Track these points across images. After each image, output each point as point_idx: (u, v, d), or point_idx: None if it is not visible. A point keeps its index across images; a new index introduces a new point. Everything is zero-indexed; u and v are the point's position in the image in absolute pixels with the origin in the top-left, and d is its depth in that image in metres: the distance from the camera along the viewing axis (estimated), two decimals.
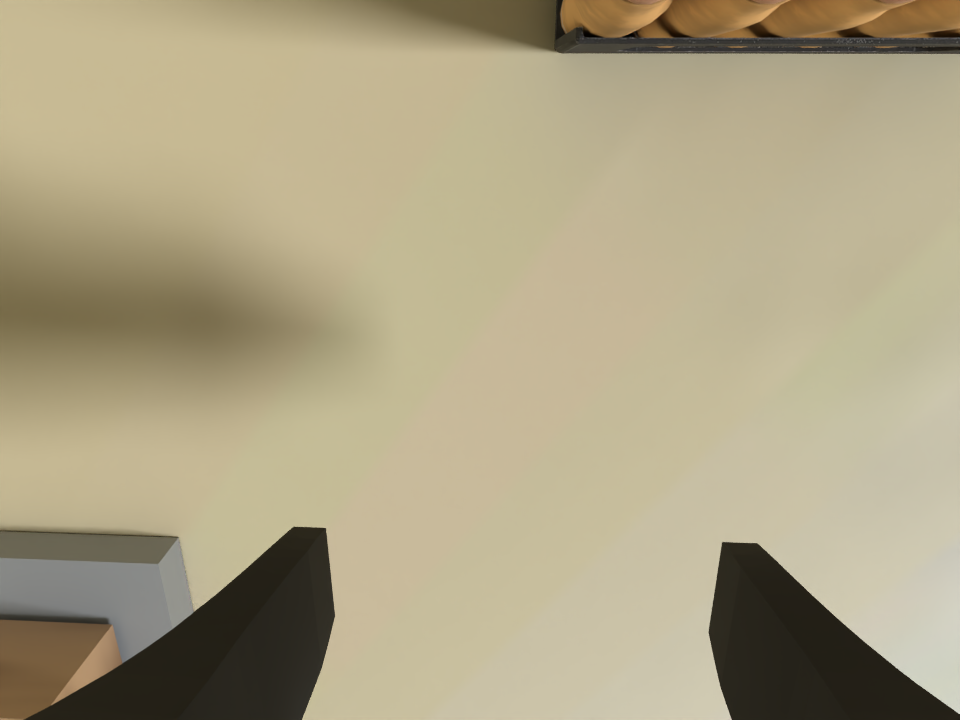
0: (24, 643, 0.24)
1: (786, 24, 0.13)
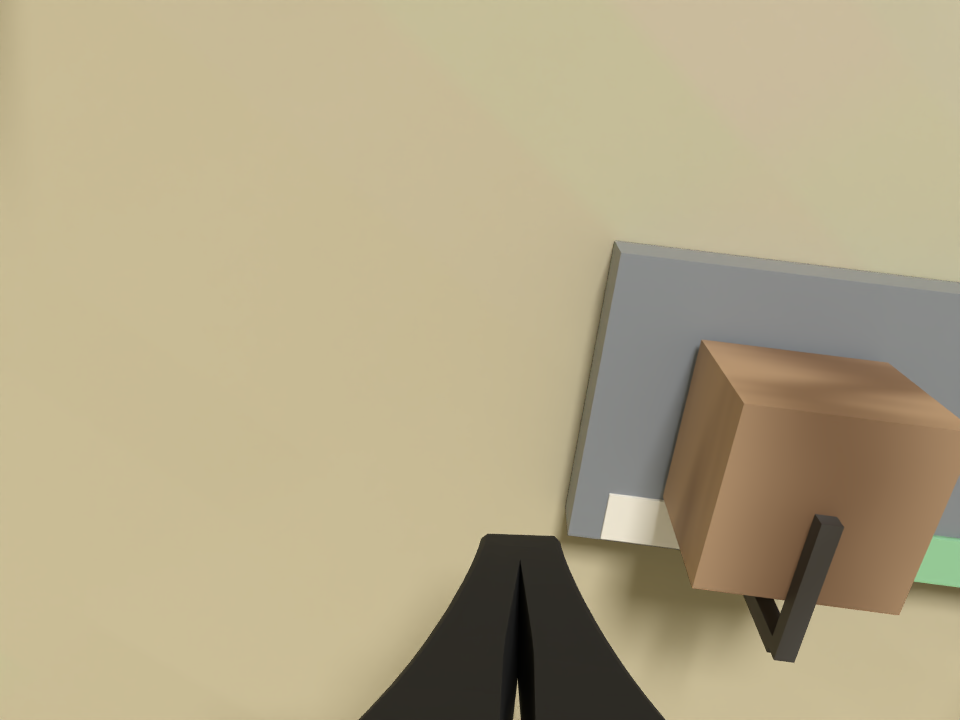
0: (688, 441, 0.19)
1: None
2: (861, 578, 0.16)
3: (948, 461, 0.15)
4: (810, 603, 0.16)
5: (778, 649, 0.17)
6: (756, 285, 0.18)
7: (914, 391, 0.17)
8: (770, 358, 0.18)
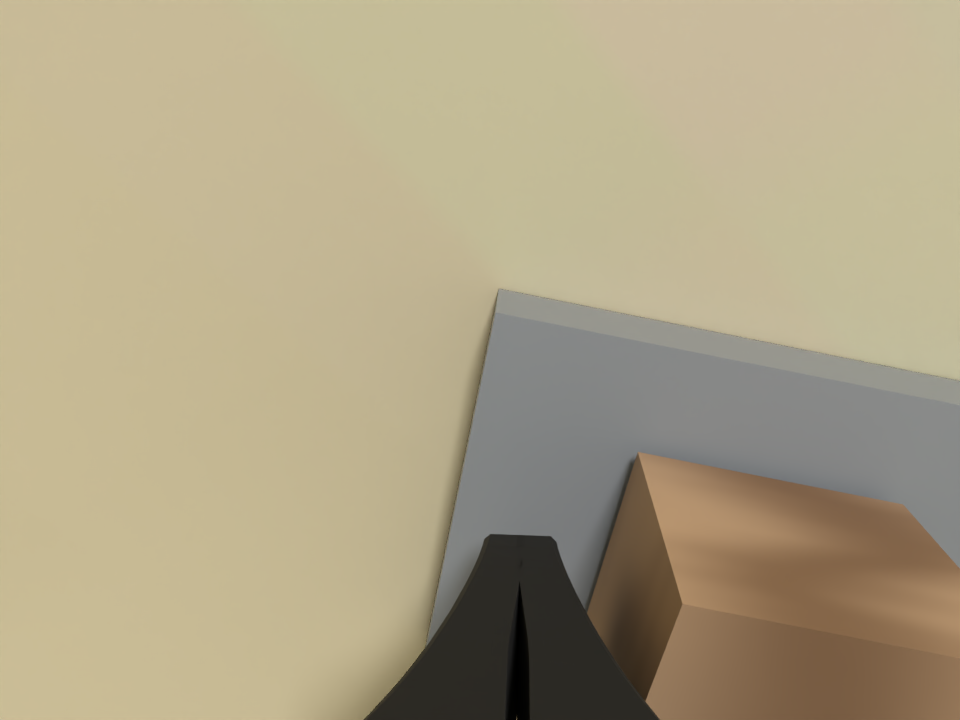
0: (608, 599, 0.13)
1: None
2: None
3: None
4: None
5: None
6: (691, 374, 0.12)
7: (946, 570, 0.11)
8: (735, 492, 0.12)
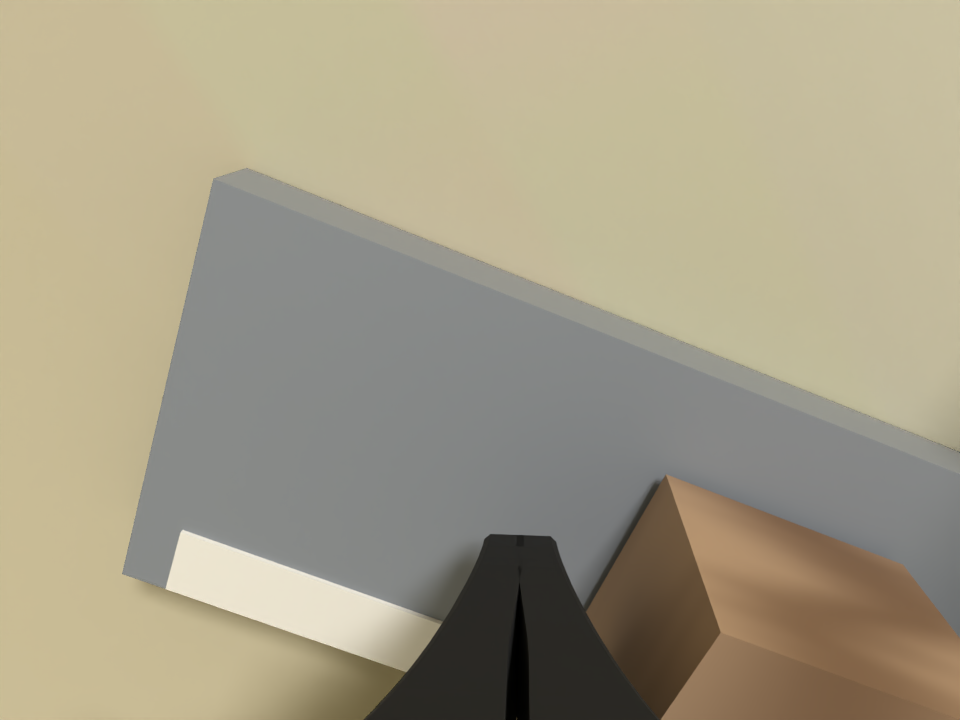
0: (612, 612, 0.13)
1: None
2: None
3: None
4: None
5: None
6: (408, 281, 0.12)
7: (946, 634, 0.11)
8: (756, 529, 0.12)
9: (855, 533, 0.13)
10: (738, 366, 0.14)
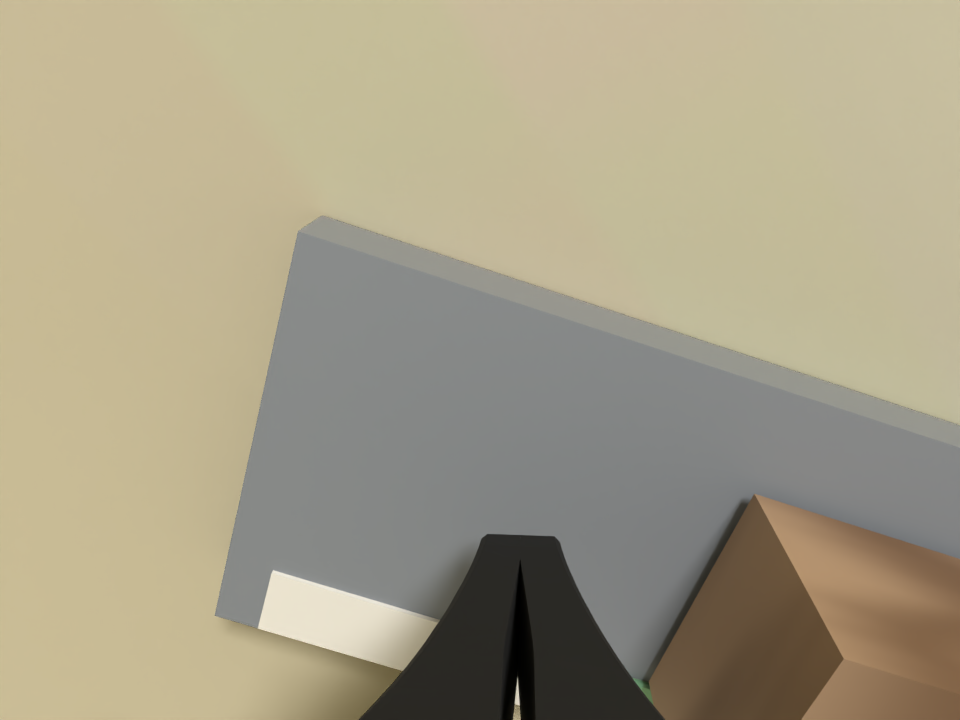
0: (709, 634, 0.13)
1: None
2: None
3: None
4: None
5: None
6: (491, 318, 0.12)
7: None
8: (851, 545, 0.12)
9: (946, 542, 0.13)
10: (817, 380, 0.14)
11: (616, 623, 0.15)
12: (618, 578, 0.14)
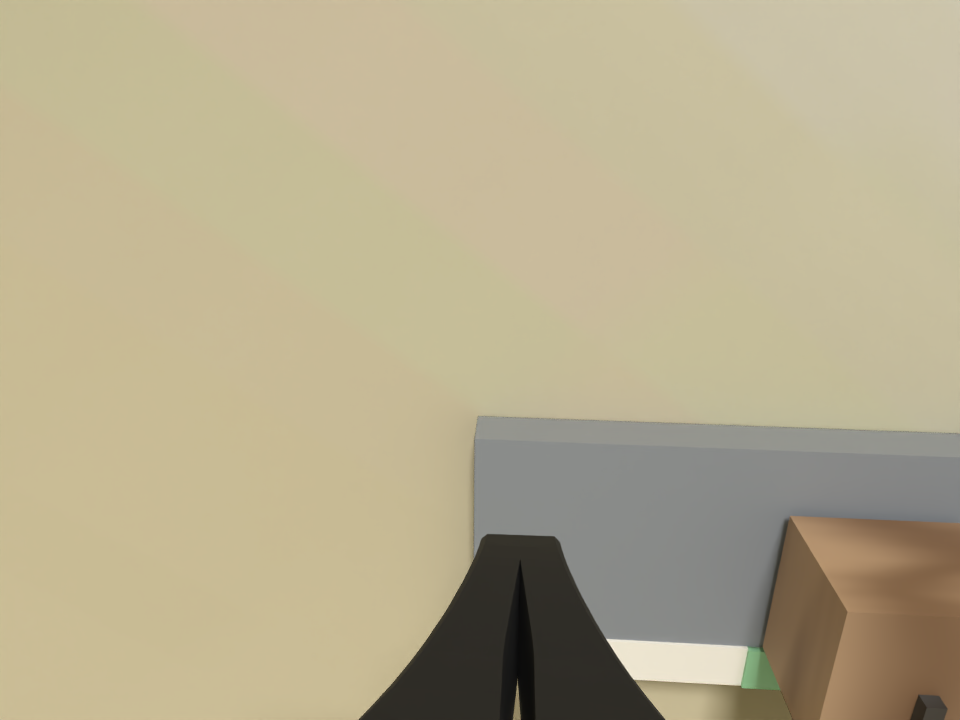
0: (786, 609, 0.20)
1: None
2: None
3: None
4: None
5: None
6: (598, 456, 0.20)
7: None
8: (857, 534, 0.20)
9: (926, 512, 0.21)
10: (812, 431, 0.21)
11: (729, 614, 0.22)
12: (722, 586, 0.22)
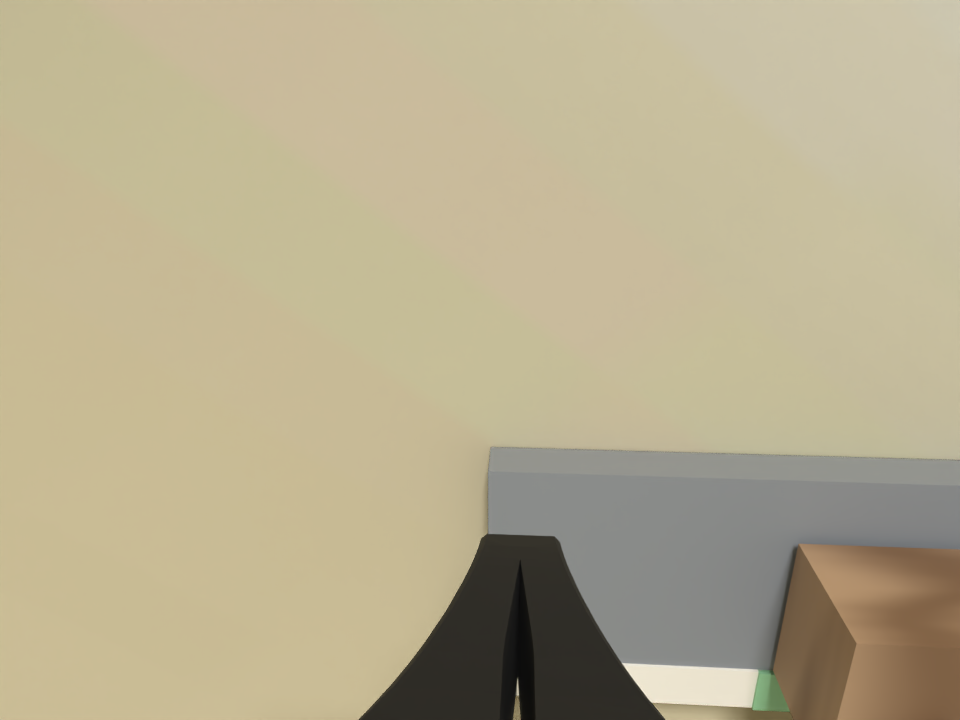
0: (796, 635, 0.21)
1: None
2: None
3: None
4: None
5: None
6: (609, 487, 0.21)
7: None
8: (865, 562, 0.20)
9: (933, 539, 0.21)
10: (819, 459, 0.22)
11: (740, 638, 0.23)
12: (732, 611, 0.22)
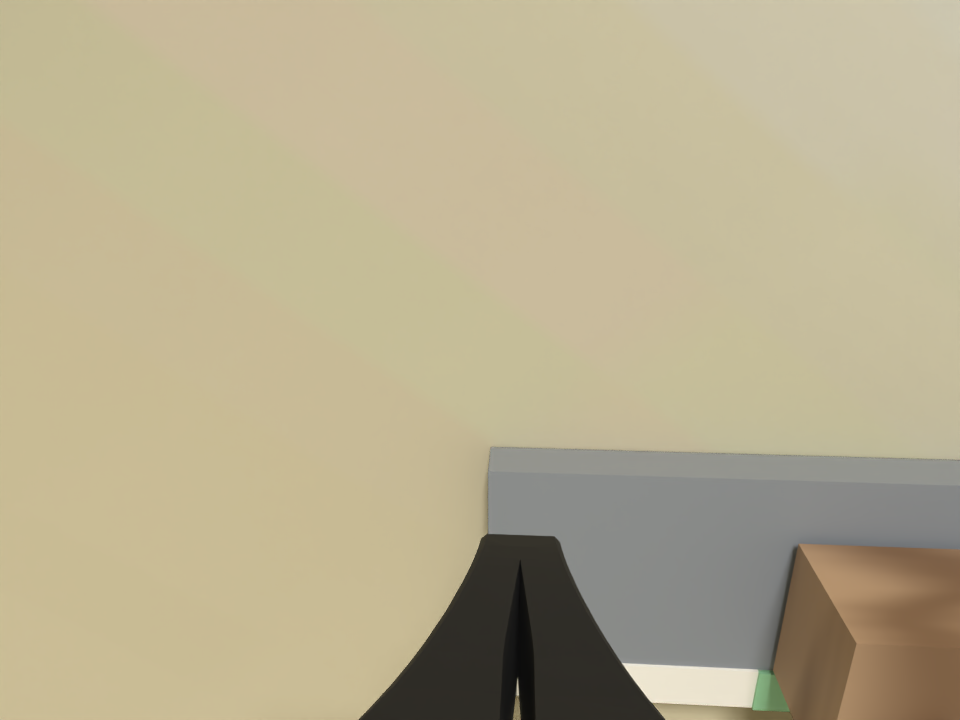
0: (796, 635, 0.21)
1: None
2: None
3: None
4: None
5: None
6: (609, 487, 0.21)
7: None
8: (865, 562, 0.20)
9: (933, 539, 0.21)
10: (819, 459, 0.22)
11: (740, 638, 0.23)
12: (732, 611, 0.22)
